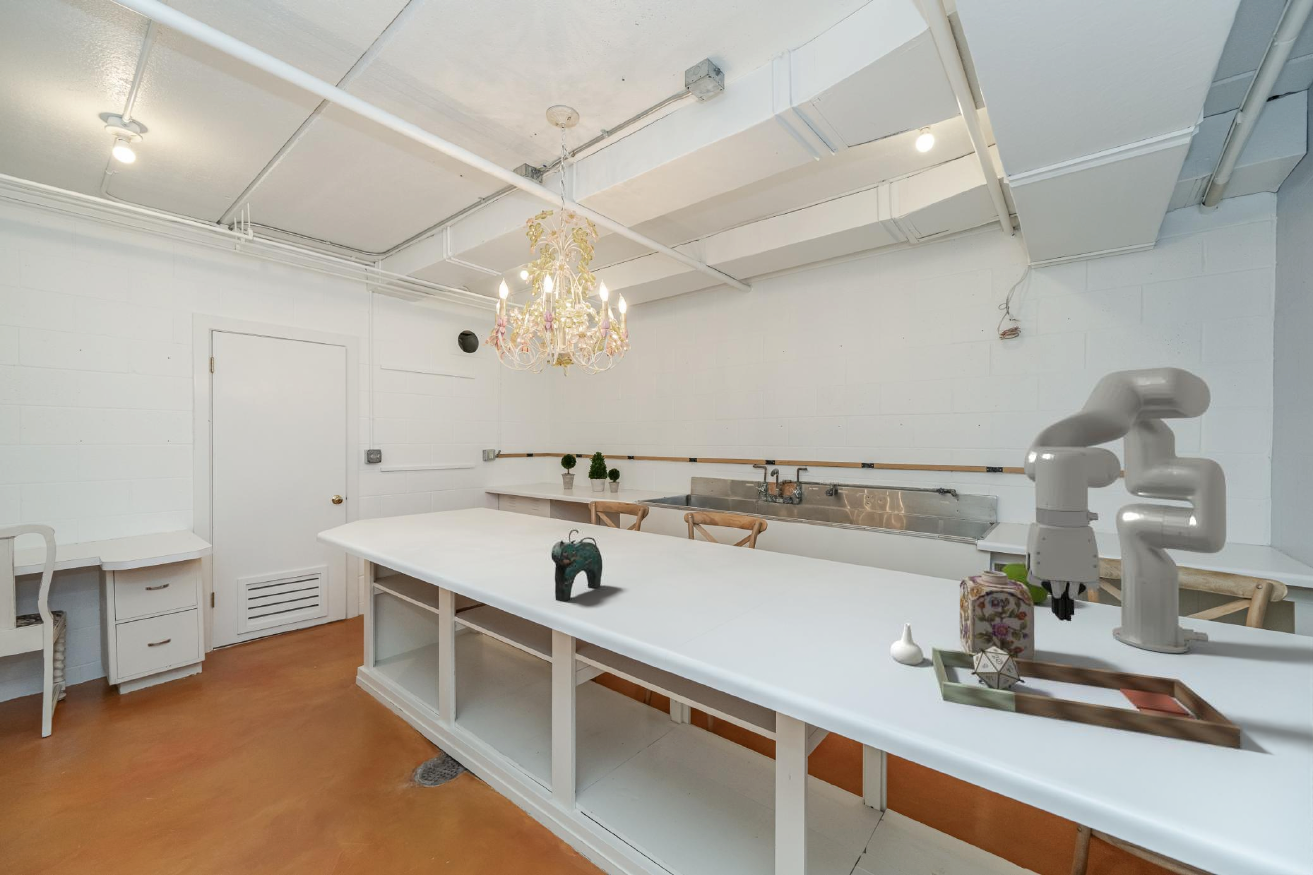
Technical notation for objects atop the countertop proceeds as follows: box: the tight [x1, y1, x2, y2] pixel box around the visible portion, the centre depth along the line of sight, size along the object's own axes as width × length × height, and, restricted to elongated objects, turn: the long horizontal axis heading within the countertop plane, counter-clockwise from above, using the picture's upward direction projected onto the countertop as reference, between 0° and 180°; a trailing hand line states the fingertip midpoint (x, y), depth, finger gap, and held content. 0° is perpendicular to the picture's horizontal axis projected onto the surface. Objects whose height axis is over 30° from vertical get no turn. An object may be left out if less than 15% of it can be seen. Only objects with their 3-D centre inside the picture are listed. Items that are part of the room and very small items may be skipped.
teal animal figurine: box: [550, 529, 603, 603], centre depth 159 cm, size 20×6×20 cm, turn 147°
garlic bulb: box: [889, 622, 924, 666], centre depth 111 cm, size 6×6×8 cm
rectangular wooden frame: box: [931, 647, 1241, 749], centre depth 95 cm, size 40×17×3 cm, turn 68°
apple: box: [1001, 562, 1049, 604], centre depth 149 cm, size 11×11×11 cm
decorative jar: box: [959, 570, 1035, 661], centre depth 113 cm, size 12×12×18 cm
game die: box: [969, 641, 1026, 690], centre depth 98 cm, size 9×8×10 cm
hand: (1062, 617), depth 95 cm, fingers closed
